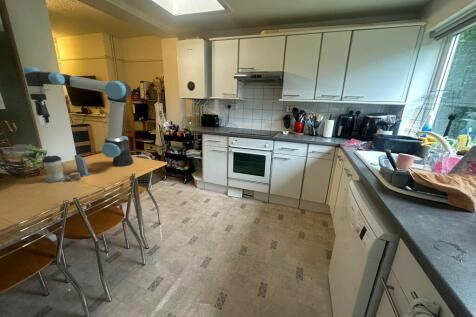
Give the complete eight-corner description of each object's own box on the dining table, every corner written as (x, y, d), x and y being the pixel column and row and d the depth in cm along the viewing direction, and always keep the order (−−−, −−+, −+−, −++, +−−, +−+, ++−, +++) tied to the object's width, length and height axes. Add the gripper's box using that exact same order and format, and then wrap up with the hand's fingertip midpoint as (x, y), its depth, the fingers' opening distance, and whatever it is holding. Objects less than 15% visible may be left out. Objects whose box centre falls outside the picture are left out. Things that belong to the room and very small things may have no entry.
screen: (74, 171, 146) (71, 155, 142) (82, 169, 149) (79, 154, 146) (83, 176, 137) (79, 160, 133) (91, 174, 141) (88, 158, 137)
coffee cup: (69, 176, 135) (64, 155, 131) (56, 181, 127) (50, 159, 122) (57, 175, 136) (51, 154, 132) (43, 180, 128) (37, 158, 123)
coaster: (73, 175, 139) (73, 174, 138) (61, 182, 127) (61, 181, 127) (53, 175, 137) (53, 174, 136) (40, 183, 125) (40, 182, 125)
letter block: (80, 178, 135) (79, 171, 134) (79, 180, 131) (78, 174, 130) (72, 179, 133) (70, 172, 132) (71, 181, 129) (69, 175, 128)
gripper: (25, 92, 133) (33, 124, 139) (34, 93, 119) (43, 128, 126) (40, 93, 139) (48, 123, 145) (50, 94, 125) (58, 127, 132)
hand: (45, 126), depth 136 cm, fingers open, 13 cm apart
